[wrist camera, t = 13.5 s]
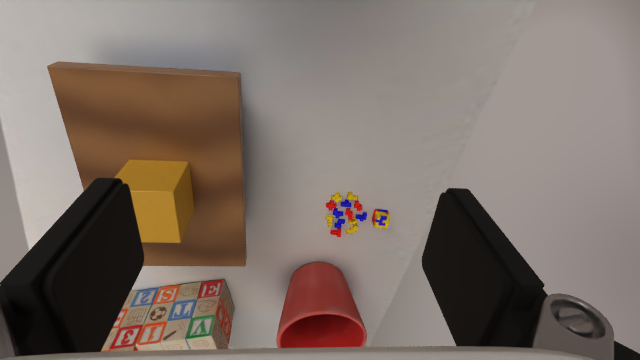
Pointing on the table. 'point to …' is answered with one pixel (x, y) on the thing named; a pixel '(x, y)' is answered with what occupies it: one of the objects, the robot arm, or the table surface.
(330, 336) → the flower pot
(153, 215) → the mustard block
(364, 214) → the building blocks
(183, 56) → the table surface
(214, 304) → the stack of blocks
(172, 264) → the wooden board
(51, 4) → the table surface
